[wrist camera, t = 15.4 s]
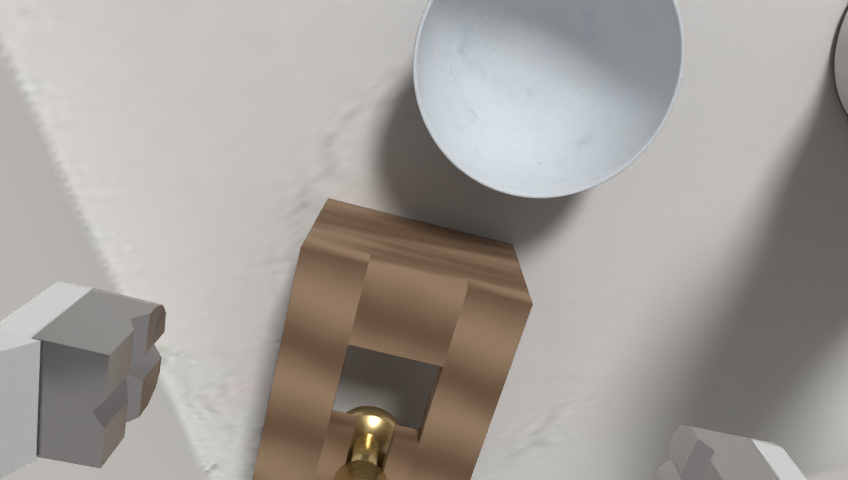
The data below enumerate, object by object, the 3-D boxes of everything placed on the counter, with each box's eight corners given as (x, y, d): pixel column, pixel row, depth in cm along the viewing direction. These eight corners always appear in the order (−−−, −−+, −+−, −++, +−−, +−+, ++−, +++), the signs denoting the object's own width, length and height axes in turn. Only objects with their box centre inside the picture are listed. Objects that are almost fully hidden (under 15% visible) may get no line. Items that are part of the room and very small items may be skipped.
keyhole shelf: (328, 198, 46) (300, 247, 36) (512, 245, 47) (532, 304, 37) (271, 459, 54) (237, 554, 45) (429, 494, 55) (428, 594, 46)
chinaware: (483, -112, 39) (494, -140, 32) (686, 5, 41) (741, 4, 34) (379, 108, 44) (368, 128, 36) (566, 202, 46) (591, 239, 38)
